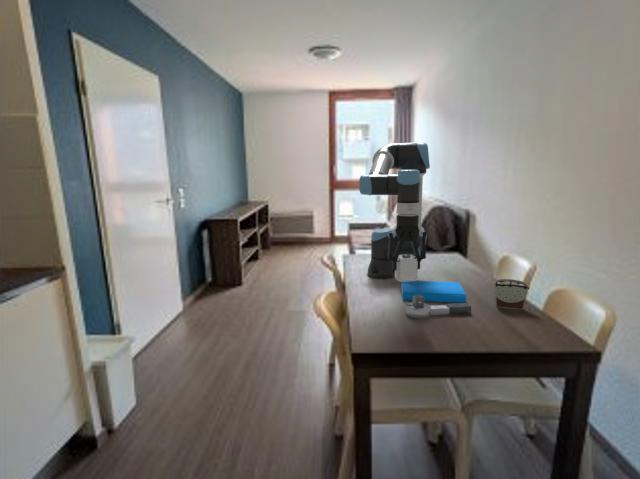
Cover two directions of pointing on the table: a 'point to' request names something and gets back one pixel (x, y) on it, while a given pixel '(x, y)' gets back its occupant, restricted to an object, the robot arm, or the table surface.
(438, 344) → the table surface
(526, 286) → the food container
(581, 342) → the table surface
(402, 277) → the grey block with knob
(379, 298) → the table surface
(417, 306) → the ratchet
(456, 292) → the book
